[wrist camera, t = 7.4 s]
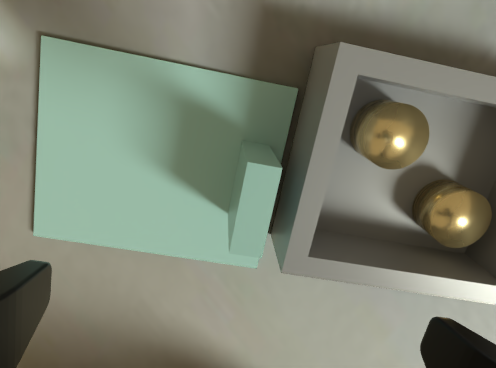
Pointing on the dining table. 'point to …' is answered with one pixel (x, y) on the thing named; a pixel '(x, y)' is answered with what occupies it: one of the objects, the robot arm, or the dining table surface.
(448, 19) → the dining table surface
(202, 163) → the lid
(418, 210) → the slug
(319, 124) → the tub
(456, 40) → the dining table surface
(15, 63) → the dining table surface
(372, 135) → the ball
